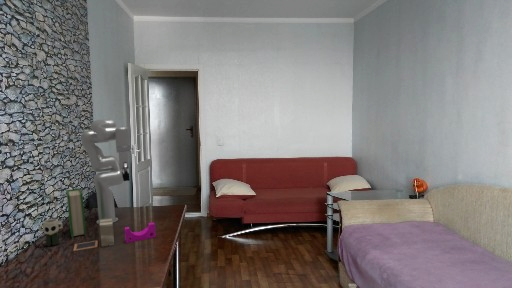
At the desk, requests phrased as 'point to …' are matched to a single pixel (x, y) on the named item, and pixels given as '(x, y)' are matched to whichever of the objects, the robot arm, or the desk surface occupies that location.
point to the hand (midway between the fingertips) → (126, 179)
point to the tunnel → (106, 232)
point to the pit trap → (85, 245)
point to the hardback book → (76, 212)
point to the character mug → (51, 231)
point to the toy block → (140, 233)
